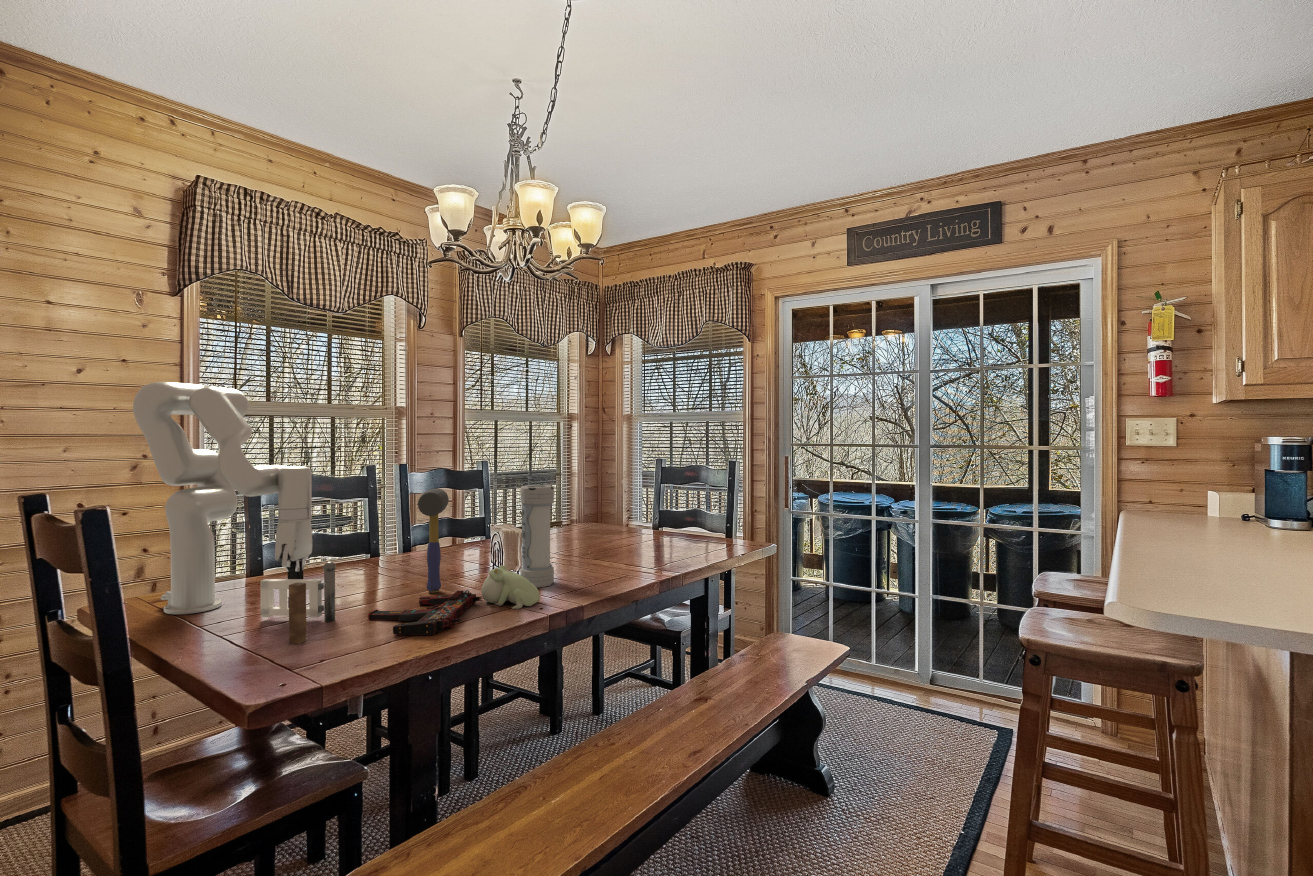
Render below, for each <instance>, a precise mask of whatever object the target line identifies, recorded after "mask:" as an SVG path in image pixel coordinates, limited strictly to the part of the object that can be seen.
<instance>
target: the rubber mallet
mask: <svg viewBox="0 0 1313 876" xmlns="http://www.w3.org/2000/svg"><path fill="white" fill-rule="evenodd" d="M449 501H450V498H449V495H448V493H447V492H446V491H445V490H444V489H441V488H431V489H428V490H426V491H424V492H423V493H422V494H421V495H420V497H419V499H418V501H417V506H418V511H419V512H420V513H422V514H423V515H424V516H427V517H429V522H428V523H429V527H428V528H429V530H428V531H429V539H428V540H429V541H428V544H427V548H426V549H427V551H426V563H427V583H426V589H427V591H428V592H429V593H438V592H440V590H441V588H442V582H441V579H440V578H441V574H440V573H441V571H440V570H441V568H440V566H441V558H442V555H441V544H440V542H439V540H440V539H439V532H440V531H439V514H441V513H442V512H443V511H445V510H446V508H447V506H448V505H449Z"/></svg>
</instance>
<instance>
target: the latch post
mask: <svg viewBox="0 0 1313 876" xmlns="http://www.w3.org/2000/svg"><path fill="white" fill-rule="evenodd" d="M287 607H288V608H289V616H288V643H289V645H290V644H293V645H300V644H302V643H305V642H307V616H306V607H307V589H306V583H293V584H290V585H289V589H288V596H287Z"/></svg>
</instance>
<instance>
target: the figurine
mask: <svg viewBox="0 0 1313 876" xmlns="http://www.w3.org/2000/svg"><path fill="white" fill-rule="evenodd" d="M482 596H483V597H482ZM481 597H482V600H483V601H485V602H486V603H489V604H490V603H491V604H494V605H497V606H503V605H504V604H505V602H510V603H511V604H514V605H513V606H511V609H512V610H515V609H517V610H518V609H522V608H523V606H525V607H526V606H527V607H531V606H533V605H535V604H536V603H538V602H540V601H541V597H540V592H539V588H536V586H535V585H534V584H532V583H530V582H529V581H528V580H527V579H526V578H525V577H523V576H521V574H519V573H517V572H514V571H510V570H508V569H507V567H506V566H505V565H502V564H501V565H499V566H498V567H494V569H491V570H489V572H488V576H487V577H486V578H485V579H484V581H483V584H482V585H481Z"/></svg>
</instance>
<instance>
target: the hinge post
mask: <svg viewBox="0 0 1313 876" xmlns="http://www.w3.org/2000/svg"><path fill="white" fill-rule="evenodd" d="M322 568H323V569H322V570H323V579H324V580H323V581H324V582H323V583H324V591H323V592H324V594H323V601H324V602H323V603H324V604H323V605H324V611H323V614H324V616H323V618H324V622H325V623H331V622H335V621H336V569H337V566H336V563H335V562H333V561H326V563H324V564H323V567H322Z"/></svg>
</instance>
